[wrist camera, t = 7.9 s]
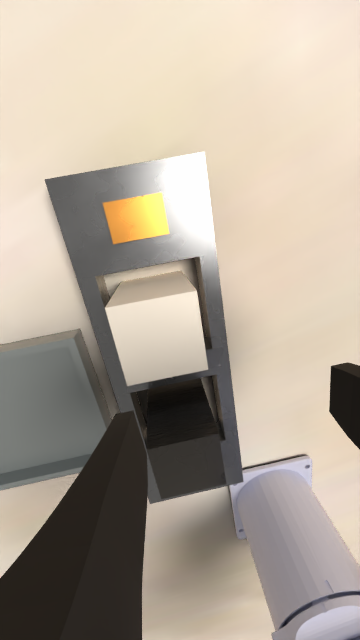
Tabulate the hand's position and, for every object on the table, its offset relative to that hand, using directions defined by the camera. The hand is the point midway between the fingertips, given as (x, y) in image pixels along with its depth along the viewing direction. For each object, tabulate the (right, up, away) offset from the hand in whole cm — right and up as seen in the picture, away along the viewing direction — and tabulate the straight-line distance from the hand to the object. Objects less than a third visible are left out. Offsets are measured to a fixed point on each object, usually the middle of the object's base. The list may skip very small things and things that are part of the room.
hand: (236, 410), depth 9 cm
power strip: (-3, 0, +9) cm, 10 cm away
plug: (-4, +4, +8) cm, 10 cm away
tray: (-13, -4, +10) cm, 17 cm away
